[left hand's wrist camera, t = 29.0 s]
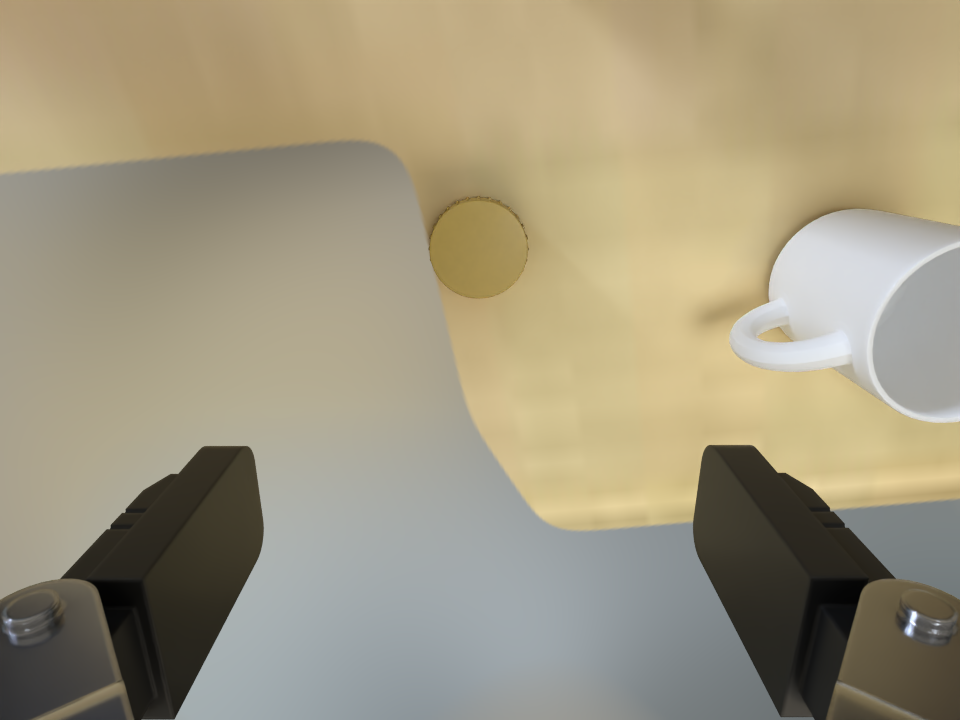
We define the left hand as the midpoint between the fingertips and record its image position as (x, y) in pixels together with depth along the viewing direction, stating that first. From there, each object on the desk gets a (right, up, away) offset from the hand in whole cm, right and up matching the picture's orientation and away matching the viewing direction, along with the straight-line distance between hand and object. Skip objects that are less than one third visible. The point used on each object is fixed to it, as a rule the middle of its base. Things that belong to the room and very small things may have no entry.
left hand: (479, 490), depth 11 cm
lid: (0, +8, +23) cm, 25 cm away
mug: (+19, +6, +25) cm, 32 cm away
